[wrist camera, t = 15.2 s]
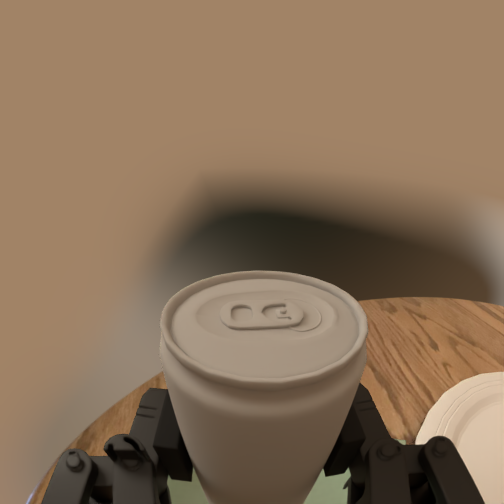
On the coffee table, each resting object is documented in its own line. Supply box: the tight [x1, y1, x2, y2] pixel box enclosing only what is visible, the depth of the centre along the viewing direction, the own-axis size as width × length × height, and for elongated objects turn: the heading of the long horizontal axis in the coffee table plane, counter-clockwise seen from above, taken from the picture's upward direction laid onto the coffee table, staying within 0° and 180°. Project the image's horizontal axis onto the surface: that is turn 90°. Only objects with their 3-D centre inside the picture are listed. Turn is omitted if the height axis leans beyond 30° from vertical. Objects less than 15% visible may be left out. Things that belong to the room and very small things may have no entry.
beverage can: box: [159, 271, 368, 504], centre depth 8 cm, size 5×5×12 cm
